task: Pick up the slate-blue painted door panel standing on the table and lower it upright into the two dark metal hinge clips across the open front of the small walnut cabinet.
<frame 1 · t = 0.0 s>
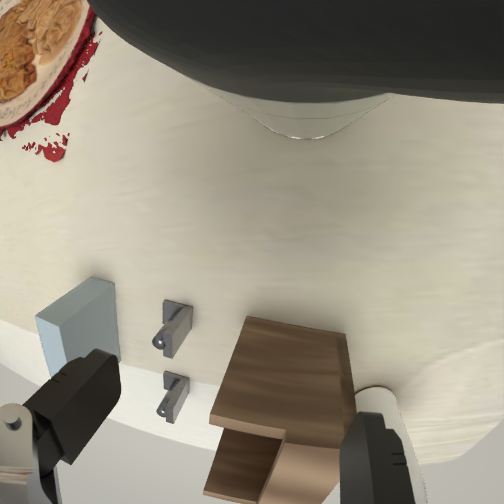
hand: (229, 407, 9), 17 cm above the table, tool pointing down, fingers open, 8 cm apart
hinge clips: (186, 353, 30), on the table
plate with food: (36, 36, 23), on the table
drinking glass: (370, 401, 29), on the table
cabinet: (283, 375, 29), on the table
door: (106, 321, 31), on the table
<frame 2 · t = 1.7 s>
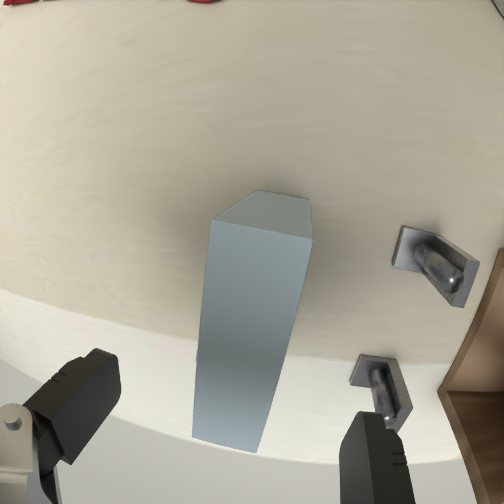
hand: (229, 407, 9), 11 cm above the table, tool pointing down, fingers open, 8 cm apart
hinge clips: (408, 318, 18), on the table
door: (268, 276, 19), on the table
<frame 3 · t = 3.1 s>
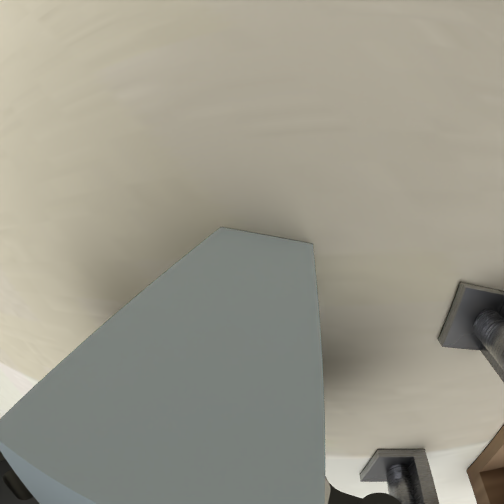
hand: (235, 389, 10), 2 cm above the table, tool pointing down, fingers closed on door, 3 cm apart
hinge clips: (449, 404, 11), on the table
door: (244, 361, 12), on the table, touching gripper
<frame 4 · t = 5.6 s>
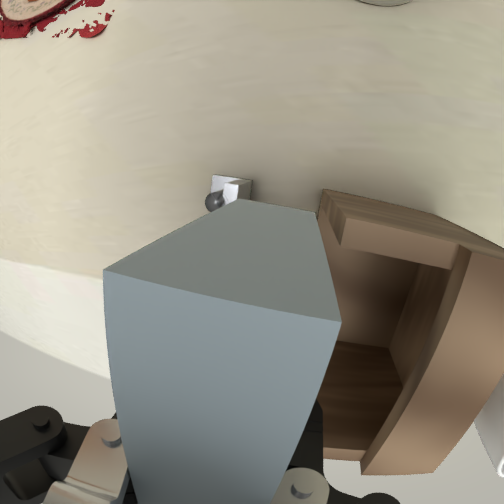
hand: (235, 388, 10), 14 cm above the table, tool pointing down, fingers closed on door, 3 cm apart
hinge clips: (236, 255, 24), on the table
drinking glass: (459, 318, 22), on the table
cabinet: (364, 279, 23), on the table
door: (256, 318, 14), point 10 cm above the table, touching gripper
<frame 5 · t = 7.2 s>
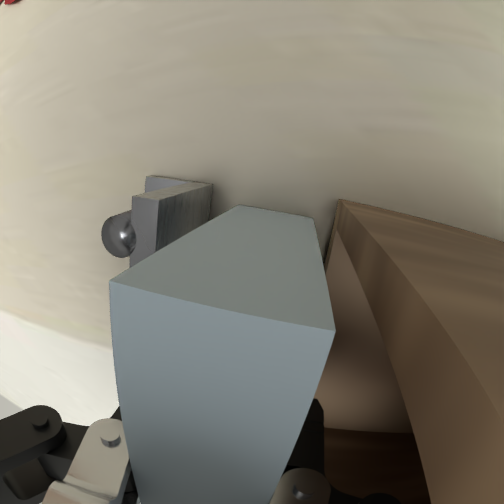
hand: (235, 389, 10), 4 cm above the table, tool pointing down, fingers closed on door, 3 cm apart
hinge clips: (191, 307, 14), on the table
cabinet: (397, 346, 13), on the table
door: (256, 322, 14), on the table, touching gripper
when the fingers open (4 cm above the table, at t = 7.7 s): door stays where it is, on the table.
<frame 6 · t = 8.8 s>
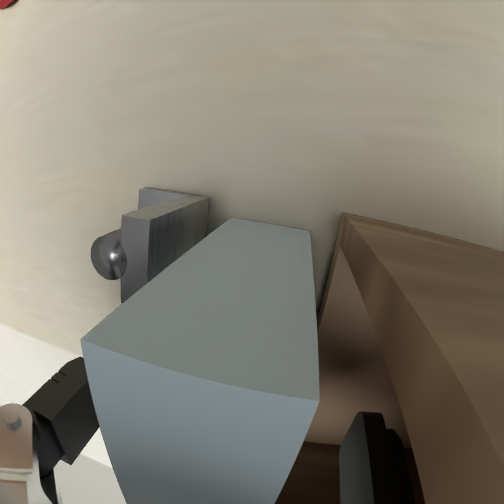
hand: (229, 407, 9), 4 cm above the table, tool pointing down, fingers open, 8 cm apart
hinge clips: (188, 324, 14), on the table
cabinet: (401, 362, 12), on the table
door: (252, 336, 13), on the table
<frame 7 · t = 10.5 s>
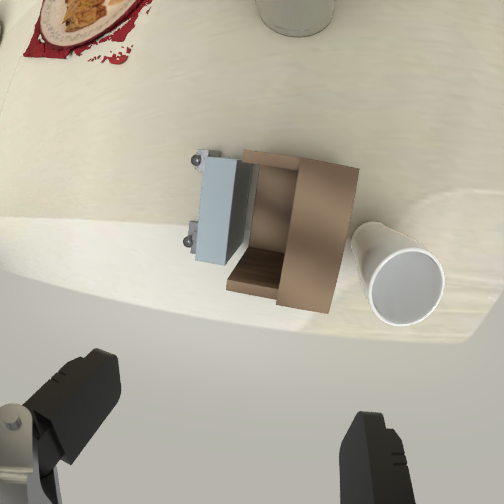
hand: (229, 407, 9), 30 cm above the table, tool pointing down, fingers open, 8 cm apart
hinge clips: (211, 197, 38), on the table
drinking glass: (370, 241, 36), on the table
cabinet: (293, 210, 37), on the table
door: (235, 200, 37), on the table
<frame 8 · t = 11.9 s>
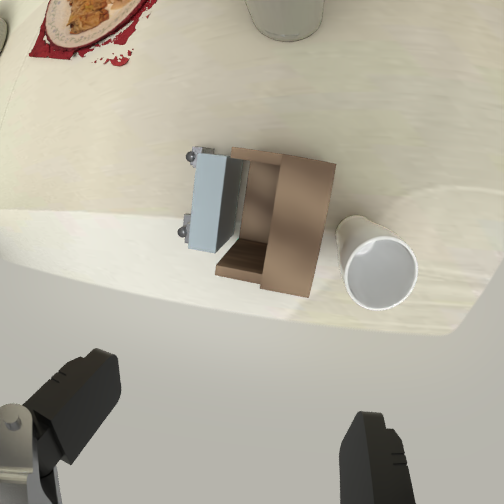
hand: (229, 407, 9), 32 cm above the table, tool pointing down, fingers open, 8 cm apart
hinge clips: (205, 192, 40), on the table
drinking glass: (355, 234, 39), on the table
cabinet: (281, 204, 39), on the table
door: (227, 194, 40), on the table
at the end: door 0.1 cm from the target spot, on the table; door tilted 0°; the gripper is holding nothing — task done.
